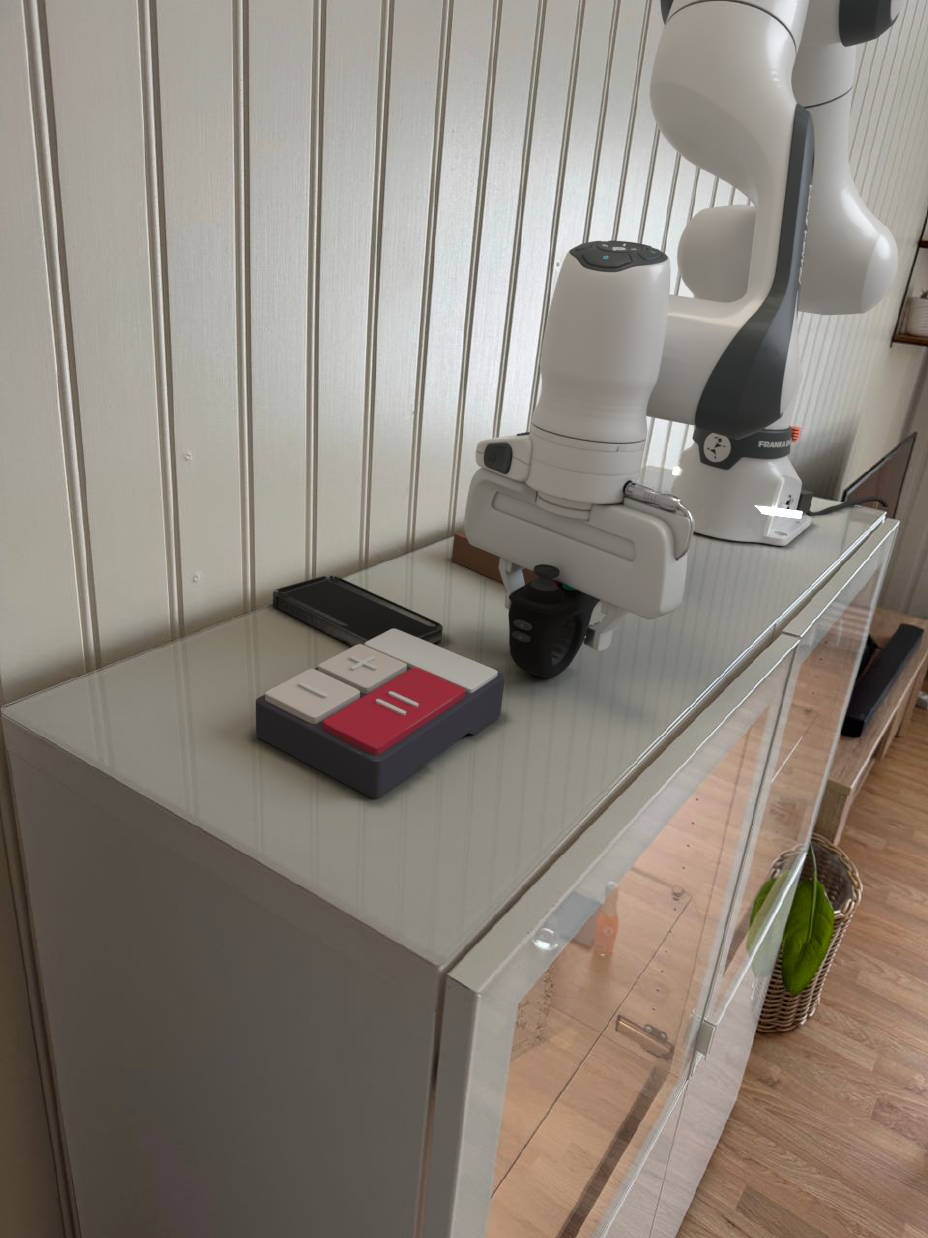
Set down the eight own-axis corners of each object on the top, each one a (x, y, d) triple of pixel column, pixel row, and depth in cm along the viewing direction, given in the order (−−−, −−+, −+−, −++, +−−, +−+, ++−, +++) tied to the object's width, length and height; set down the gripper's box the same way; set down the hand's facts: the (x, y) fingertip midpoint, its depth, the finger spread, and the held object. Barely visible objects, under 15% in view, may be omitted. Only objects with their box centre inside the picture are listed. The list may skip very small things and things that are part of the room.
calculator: (252, 689, 62) (392, 618, 74) (253, 743, 64) (390, 666, 76) (377, 753, 57) (508, 665, 68) (374, 809, 59) (502, 715, 70)
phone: (331, 573, 90) (448, 626, 81) (330, 584, 90) (446, 638, 82) (266, 591, 84) (385, 650, 76) (266, 603, 84) (384, 663, 76)
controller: (489, 683, 75) (505, 568, 71) (561, 639, 85) (578, 535, 81) (534, 702, 73) (554, 585, 69) (603, 654, 83) (623, 549, 79)
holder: (497, 548, 106) (501, 522, 105) (608, 595, 96) (614, 567, 95) (451, 560, 100) (454, 533, 99) (563, 610, 91) (568, 581, 90)
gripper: (721, 498, 68) (681, 666, 73) (512, 432, 80) (492, 581, 86) (675, 510, 64) (637, 687, 69) (461, 438, 76) (443, 594, 81)
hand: (555, 628), depth 78 cm, fingers open, 7 cm apart
